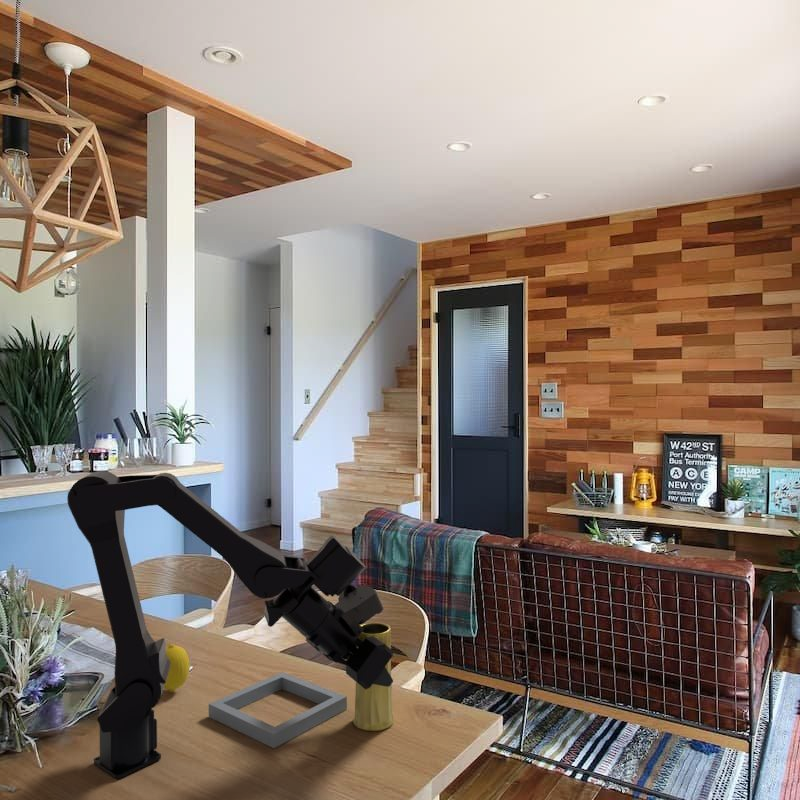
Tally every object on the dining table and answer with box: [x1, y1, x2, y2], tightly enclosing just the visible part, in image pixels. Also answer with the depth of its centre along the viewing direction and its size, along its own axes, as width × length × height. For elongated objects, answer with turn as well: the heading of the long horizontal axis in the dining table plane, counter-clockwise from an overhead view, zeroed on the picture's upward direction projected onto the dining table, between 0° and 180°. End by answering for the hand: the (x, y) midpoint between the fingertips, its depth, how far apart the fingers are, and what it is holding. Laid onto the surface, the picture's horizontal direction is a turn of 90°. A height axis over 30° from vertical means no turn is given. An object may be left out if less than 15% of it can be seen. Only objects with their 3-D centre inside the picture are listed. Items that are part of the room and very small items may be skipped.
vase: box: [353, 621, 395, 732], centre depth 103 cm, size 6×6×14 cm
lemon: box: [163, 643, 191, 693], centre depth 114 cm, size 6×6×8 cm
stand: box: [208, 671, 348, 749], centre depth 106 cm, size 15×15×2 cm
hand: (381, 676), depth 104 cm, fingers closed on vase, 5 cm apart
